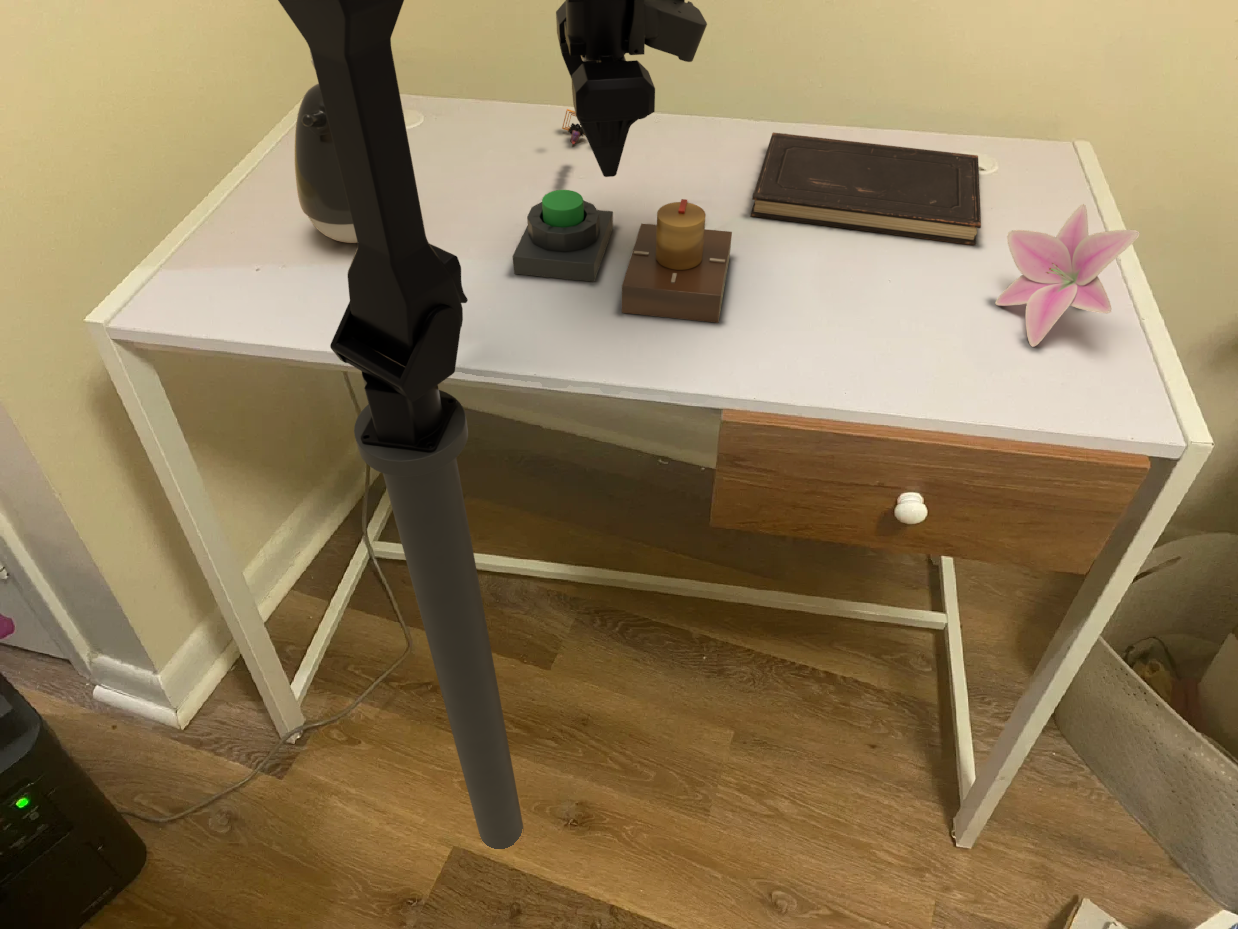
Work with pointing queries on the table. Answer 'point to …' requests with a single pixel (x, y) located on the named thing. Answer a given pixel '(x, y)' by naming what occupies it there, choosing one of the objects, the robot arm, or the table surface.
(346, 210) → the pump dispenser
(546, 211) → the button
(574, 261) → the button base
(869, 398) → the table surface
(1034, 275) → the lily
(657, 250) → the dial
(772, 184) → the hardcover book
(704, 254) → the panel
